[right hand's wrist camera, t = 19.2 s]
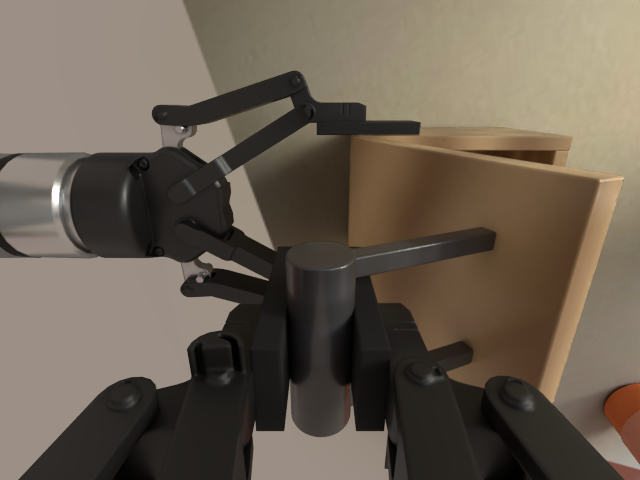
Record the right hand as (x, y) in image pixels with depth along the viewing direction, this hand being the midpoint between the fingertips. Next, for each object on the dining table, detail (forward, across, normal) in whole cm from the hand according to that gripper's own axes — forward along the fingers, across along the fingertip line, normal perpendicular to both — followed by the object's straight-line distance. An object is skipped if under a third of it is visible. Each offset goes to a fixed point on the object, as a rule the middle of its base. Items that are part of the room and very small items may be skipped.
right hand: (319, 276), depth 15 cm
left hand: (+11, +6, 0) cm, 13 cm away
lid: (+2, +5, 0) cm, 6 cm away
